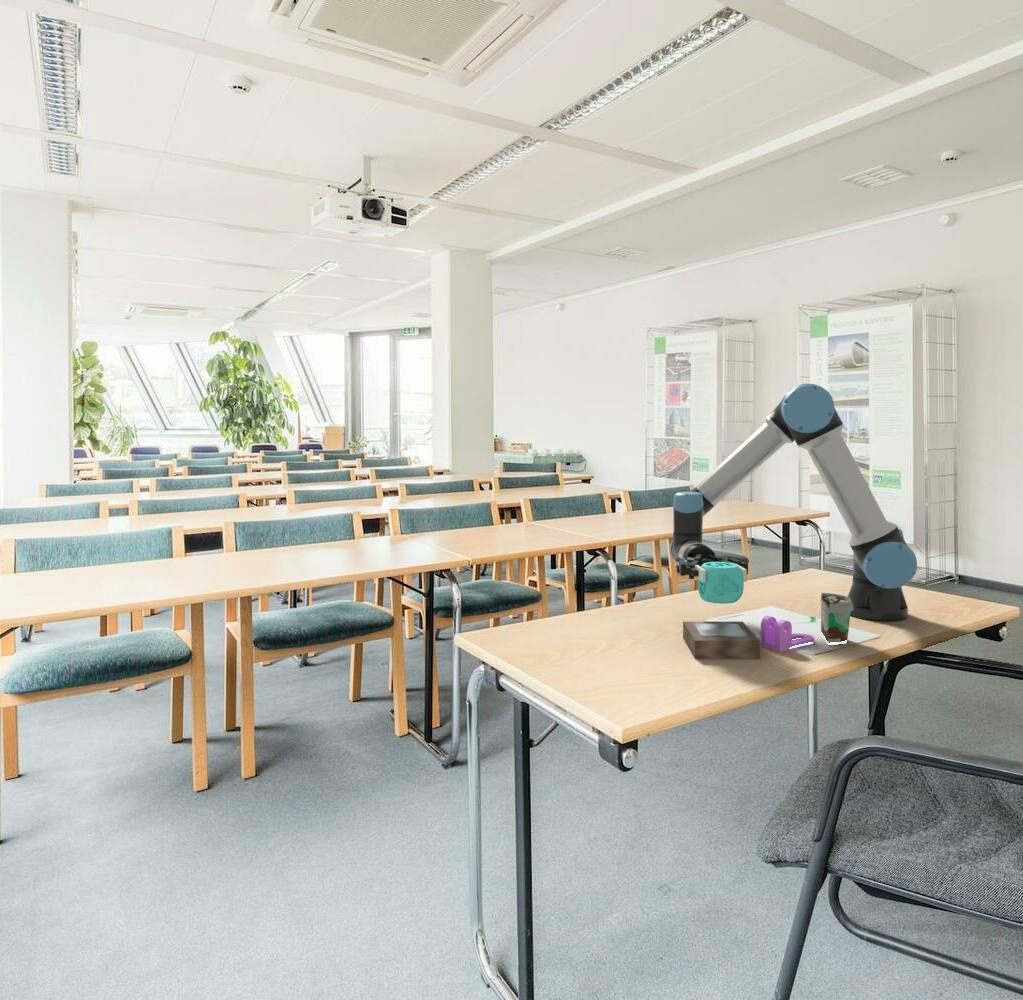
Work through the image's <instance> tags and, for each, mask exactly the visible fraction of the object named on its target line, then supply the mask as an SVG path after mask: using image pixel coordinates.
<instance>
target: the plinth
mask: <svg viewBox="0 0 1023 1000" xmlns="http://www.w3.org/2000/svg"><path fill="white" fill-rule="evenodd" d="M682 639H683V640H684V642H685V644H686V646H687V647H688V649H689V651H690V653H691V655H692V656H693V658H694V659H703V660H704V659H709V660H710V659H711V660H712V659H718V660H719V659H727V660H730V659H731V660H732V659H733V660H735V659H737V660H739V659H743V660H745V659H748V660H751V659H752V660H755V659H756V660H759V659H761V639H759V638H758V637H757V635H756V634H755V633H754V632H753V631H752V630H751V629H750V628H749V627H748V625H746V623H745V622H744V621H682Z"/></svg>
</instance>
